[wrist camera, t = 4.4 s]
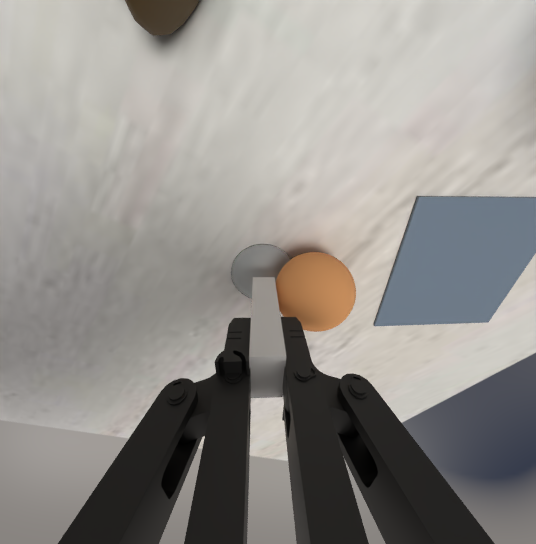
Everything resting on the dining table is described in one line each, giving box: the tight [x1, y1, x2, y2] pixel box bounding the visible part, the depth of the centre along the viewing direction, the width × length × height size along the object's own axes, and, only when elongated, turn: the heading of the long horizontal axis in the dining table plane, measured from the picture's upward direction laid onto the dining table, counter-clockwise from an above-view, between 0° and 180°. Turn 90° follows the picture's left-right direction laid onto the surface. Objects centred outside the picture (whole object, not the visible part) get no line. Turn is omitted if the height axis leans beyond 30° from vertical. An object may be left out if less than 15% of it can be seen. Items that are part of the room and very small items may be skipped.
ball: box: [276, 252, 356, 332], centre depth 14 cm, size 6×6×6 cm
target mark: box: [374, 196, 536, 326], centre depth 18 cm, size 12×12×1 cm
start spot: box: [231, 244, 290, 298], centre depth 16 cm, size 5×5×1 cm
